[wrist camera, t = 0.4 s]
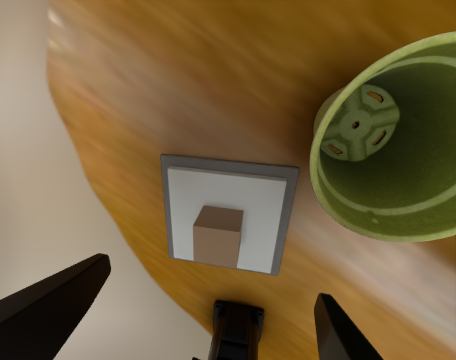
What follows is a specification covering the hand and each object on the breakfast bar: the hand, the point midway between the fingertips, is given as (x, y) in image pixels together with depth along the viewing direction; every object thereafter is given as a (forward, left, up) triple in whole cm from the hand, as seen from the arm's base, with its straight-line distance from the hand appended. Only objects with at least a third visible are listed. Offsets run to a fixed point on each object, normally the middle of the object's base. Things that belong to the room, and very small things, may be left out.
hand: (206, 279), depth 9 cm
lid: (-6, +1, -12) cm, 13 cm away
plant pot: (+5, -9, -13) cm, 16 cm away
